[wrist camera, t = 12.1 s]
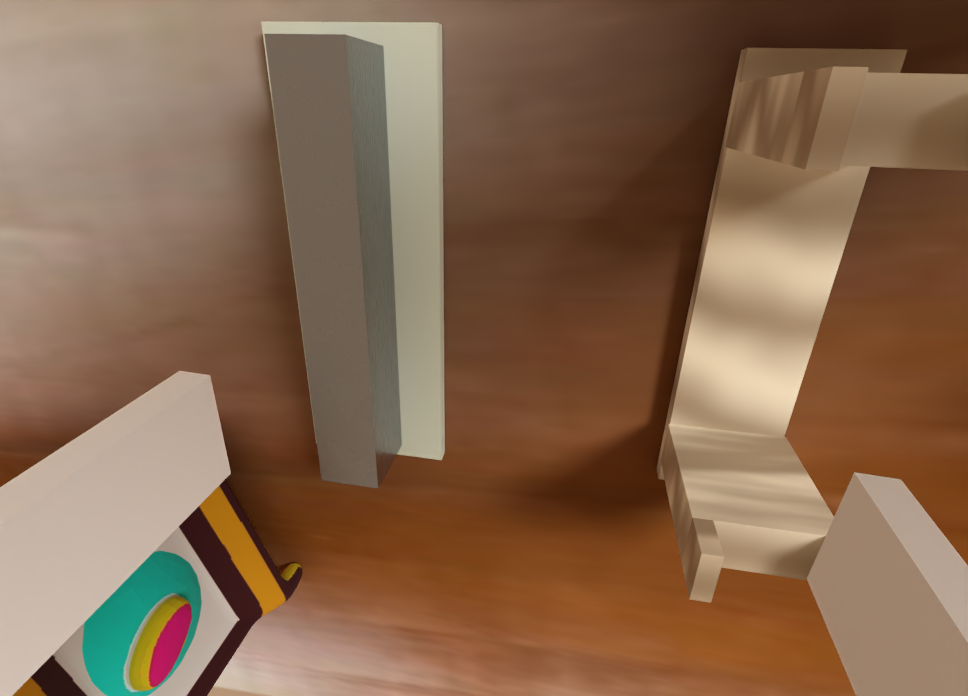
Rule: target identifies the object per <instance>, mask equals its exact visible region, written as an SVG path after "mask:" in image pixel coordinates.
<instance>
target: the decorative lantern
mask: <svg viewBox="0 0 968 696" xmlns="http://www.w3.org/2000/svg"><path fill="white" fill-rule="evenodd" d="M220 424H221V423H220ZM221 425H222V424H221ZM301 576H302V567H301V565H300V564H298V563H292V564H290V565H288V566H287V567H286V568H285V569H284V570H283V571H282V572H281V573H280V574H279V572H278V570H277V568H276V567H275V565H274V563H273V562H272V560H271V558H270V556H269V555H268V553H267V551H266V550H265V548H264V546H263V544H262V543H261V541H260V539H259V538H258V536H257V534H256V533H255V531H254V529H253V527H252V526H251V524H250V522H249V521H248V519H247V517H246V515H245V514H244V512H243V510H242V509H241V507H240V505H239V503H238V502H237V500H236V498H235V497H234V495H233V493H232V491H231V490H230V488H229V486H228V485H227V483H226V481H225V480H224V481H223V482H222V483H221V484H220V485H219V486H218V487H217V488H216V489H215V490H214V491H213V492H212V493H211V494H210V495H209V496H208V497H207V498H206V499H205V500H204V501H203V502H202V503H201V504H200V505H199V506H198V507H197V508H196V509H195V510H194V511H193V512H192V513H191V514H190V515H189V517H188V518H187V519H186V520H185V521H184V522H183V523H182V524H181V525H180V526H179V527H178V528H177V529H176V530H175V531H174V532H173V533H172V534H171V535H170V536H169V537H168V538H167V539H166V540H165V541H164V542H163V543H162V544H161V545H160V546H159V547H158V548H157V549H156V550H155V551H154V552H153V553H152V554H151V555H150V556H149V557H148V558H147V559H146V560H145V561H144V562H143V563H142V564H141V565H140V566H139V567H138V568H137V569H136V570H135V571H134V572H133V573H132V574H131V575H130V576H129V577H128V579H127V580H126V581H125V582H124V583H123V584H122V585H121V586H120V587H119V588H118V589H117V590H116V591H115V592H114V593H113V594H112V595H111V596H110V597H109V598H108V599H107V600H106V601H105V602H104V603H103V604H102V605H101V606H100V607H99V608H98V609H97V610H96V611H95V612H94V613H93V614H92V615H91V616H90V617H89V618H88V619H87V620H86V621H85V622H84V623H83V624H82V625H81V626H80V627H79V628H78V629H77V630H76V631H75V632H74V633H73V634H72V635H71V636H70V637H69V638H68V639H67V640H66V642H65V643H64V644H63V645H62V646H61V647H60V648H59V649H58V650H57V651H56V652H55V653H54V654H53V655H52V656H51V657H50V658H49V659H48V660H47V661H46V662H45V663H44V664H43V665H42V666H41V667H40V668H39V669H38V670H37V671H36V672H35V673H34V674H33V675H32V676H31V677H30V678H29V679H28V680H27V681H26V682H25V683H24V684H23V685H22V686H21V687H20V688H19V689H18V690H17V691H16V692H15V693H14V694H13V695H12V696H207V695H208V693H209V692H210V690H211V689H212V687H213V686H214V684H215V682H216V681H217V679H218V678H219V676H220V675H221V673H222V672H223V670H224V669H225V667H226V665H227V664H228V662H229V661H230V659H231V658H232V656H233V655H234V653H235V652H236V650H237V648H238V647H239V645H240V644H241V642H242V641H243V639H244V638H245V636H246V635H247V633H248V631H249V630H250V628H251V627H252V626H253V624H254V623H255V622H256V621H257V620H258V619H259V618H261V617H262V616H264V615H265V614H267V613H269V612H270V611H272V610H273V609H275V608H277V607H278V606H280V605H281V604H283V603H284V602H286V601H287V600H288V599H289V598H290V597H291V595H292V594H293V592H294V590H295V589H296V587H297V585H298V583H299V581H300V579H301Z"/></svg>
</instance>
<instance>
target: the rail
mask: <svg viewBox="0 0 968 696" xmlns="http://www.w3.org/2000/svg"><path fill="white" fill-rule="evenodd" d="M264 36H265V44H266V51H267V59H268V67H269V75H270V83H271V90H272V98H273V106H274V114H275V122H276V129H277V137H278V145H279V153H280V161H281V168H282V176H283V184H284V192H285V200H286V207H287V215H288V223H289V231H290V239H291V246H292V254H293V262H294V270H295V278H296V285H297V293H298V301H299V309H300V316H301V324H302V332H303V340H304V348H305V355H306V363H307V371H308V379H309V387H310V394H311V402H312V410H313V418H314V426H315V433H316V441H317V449H318V457H319V465H320V472H321V480H323V481H330V482H337V483H344V484H351V485H358V486H365V487H372V488H379V486H380V484H381V482H382V480H383V479H384V477H385V475H386V473H387V471H388V469H389V468H390V466H391V464H392V462H393V460H394V459H395V457H396V455H397V453H398V451H399V449H400V448H401V446H402V436H401V415H400V393H399V372H398V350H397V328H396V307H395V285H394V264H393V242H392V220H391V199H390V177H389V155H388V134H387V112H386V91H385V69H384V47H383V46H382V45H378V44H375V43H372V42H369V41H365V40H362V39H359V38H355V37H352V36H349V35H345V34H264Z"/></svg>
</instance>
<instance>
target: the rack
mask: <svg viewBox="0 0 968 696" xmlns="http://www.w3.org/2000/svg"><path fill="white" fill-rule="evenodd" d="M906 53H907V50H902V49H816V48H746V49H743V50H741V54H740V59H739V64H738V69H737V74H736V78H735V83H734V88H733V93H732V98H731V103H730V108H729V113H728V118H727V123H726V128H725V133H724V138H723V143H722V148H721V152H720V157H719V162H718V167H717V172H716V177H715V182H714V187H713V192H712V197H711V202H710V207H709V212H708V217H707V222H706V227H705V231H704V236H703V241H702V246H701V251H700V256H699V261H698V266H697V271H696V276H695V281H694V286H693V291H692V296H691V301H690V306H689V310H688V315H687V320H686V325H685V330H684V335H683V340H682V345H681V350H680V355H679V360H678V365H677V370H676V375H675V380H674V385H673V389H672V394H671V399H670V404H669V409H668V414H667V419H666V424H665V429H664V434H663V439H662V444H661V449H660V454H659V459H658V463H657V474H658V479H662V480H665V484H666V489H667V494H668V499H669V503H670V508H671V513H672V518H673V523H674V527H675V532H676V537H677V542H678V547H679V551H680V556H681V561H682V566H683V571H684V576H685V580H686V585H687V590H688V595H689V599H692V600H698V601H704V602H710V603H711V600H712V597H713V594H714V590H715V587H716V584H717V580H718V577H719V573H720V570H721V567H723V568H730V569H736V570H743V571H749V572H756V573H763V574H769V575H776V576H782V577H789V578H796V579H802V580H807V577H808V575H809V572H810V570H811V568H812V566H813V564H814V561H815V559H816V557H817V555H818V552H819V550H820V548H821V546H822V543H823V541H824V539H825V537H826V535H827V532H828V530H829V528H830V526H831V523H832V521H833V519H834V516H833V515H832V513H831V511H830V510H829V508H828V506H827V505H826V503H825V501H824V500H823V498H822V497H821V495H820V493H819V492H818V490H817V488H816V487H815V485H814V483H813V482H812V480H811V478H810V477H809V475H808V473H807V472H806V470H805V468H804V467H803V465H802V463H801V462H800V460H799V458H798V457H797V455H796V453H795V452H794V450H793V448H792V447H791V445H790V443H789V442H788V440H787V438H786V437H784V436H785V433H786V430H787V426H788V423H789V420H790V417H791V414H792V411H793V408H794V404H795V401H796V398H797V395H798V392H799V389H800V386H801V382H802V379H803V376H804V373H805V370H806V367H807V364H808V360H809V357H810V354H811V351H812V348H813V345H814V342H815V339H816V335H817V332H818V329H819V326H820V323H821V320H822V317H823V313H824V310H825V307H826V304H827V301H828V298H829V295H830V291H831V288H832V285H833V282H834V279H835V276H836V273H837V269H838V266H839V263H840V260H841V257H842V254H843V251H844V248H845V244H846V241H847V238H848V235H849V232H850V229H851V226H852V222H853V219H854V216H855V213H856V210H857V207H858V204H859V200H860V197H861V194H862V191H863V188H864V185H865V182H866V178H867V175H868V172H869V169H870V167H890V168H914V169H937V170H961V171H968V74H923V73H900V72H901V69H902V66H903V62H904V59H905V56H906Z"/></svg>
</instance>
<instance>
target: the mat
mask: <svg viewBox="0 0 968 696" xmlns="http://www.w3.org/2000/svg"><path fill="white" fill-rule="evenodd" d="M261 23H262V31H263V39H264V46H265V54H266V62H267V70H268V77H269V85H270V93H271V100H272V108H273V116H274V123H275V131H276V139H277V146H278V154H279V162H280V169H281V177H282V185H283V192H284V184H283V176H282V168H281V161H280V153H279V145H278V137H277V129H276V122H275V114H274V106H273V98H272V90H271V83H270V75H269V67H268V59H267V51H266V44H265V36H264V34H345V35H349V36H352V37H355V38H359V39H362V40H365V41H369V42H372V43H375V44H378V45H382V46H383V47H384V69H385V91H386V112H387V134H388V155H389V177H390V199H391V220H392V242H393V264H394V285H395V307H396V328H397V350H398V372H399V393H400V415H401V436H402V446H401V448H400V449H399V451H398V453H397V454H399V455H406V456H414V457H421V458H429V459H436V460H442V458H443V455H444V453H445V404H444V246H443V87H442V25H441V24H439V23H431V22H261ZM284 200H285V192H284ZM285 208H286V216H287V223H288V215H287V207H286V200H285ZM288 231H289V223H288ZM289 239H290V231H289ZM290 246H291V239H290ZM291 254H292V246H291ZM292 262H293V254H292ZM293 269H294V262H293ZM294 277H295V270H294ZM295 285H296V278H295ZM296 292H297V285H296ZM297 300H298V293H297ZM298 308H299V301H298ZM299 315H300V309H299ZM300 323H301V316H300ZM301 331H302V324H301ZM302 338H303V332H302ZM303 346H304V340H303ZM304 354H305V348H304ZM305 361H306V355H305ZM306 369H307V363H306ZM307 377H308V371H307ZM308 385H309V379H308ZM309 392H310V387H309ZM310 400H311V394H310ZM311 408H312V402H311ZM312 415H313V410H312ZM313 423H314V418H313ZM314 431H315V426H314ZM315 438H316V433H315ZM316 444H317V441H316Z"/></svg>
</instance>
